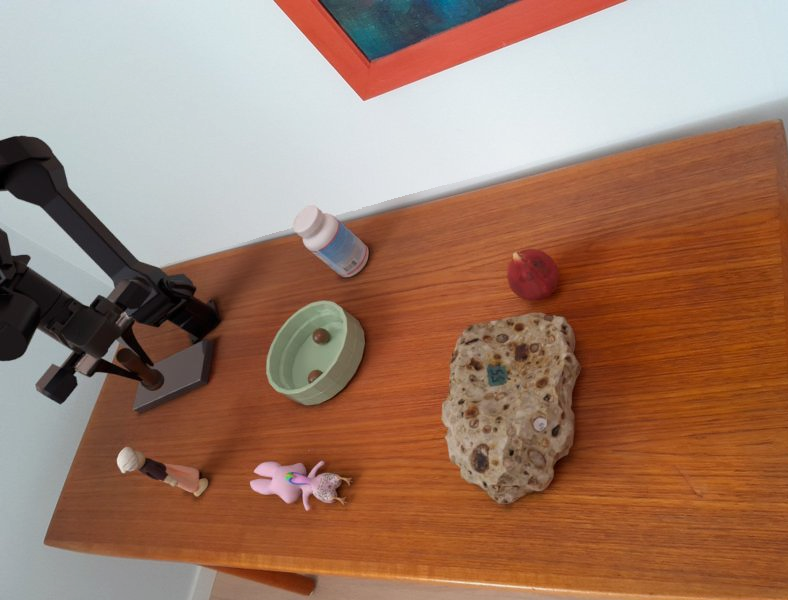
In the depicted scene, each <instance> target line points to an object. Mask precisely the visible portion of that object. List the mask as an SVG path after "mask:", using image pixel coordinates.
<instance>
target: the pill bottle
mask: <svg viewBox="0 0 788 600" xmlns="http://www.w3.org/2000/svg"><path fill="white" fill-rule="evenodd" d="M292 230H293V232H294V233H296V234H297V236H299V237H301V238H302V243H303V246H305V248H306V249H308V250H309V251H310V252H311V253H312V254H313V255H315V257H317V258H318V259H319V260H321V261H322V262H323V263H324V264H326V266H328V267H329V268H330V269H332V270H333V271H334V272H335V273H336V274H338V275H339V276H340V277H343V278H351V277H353V276H355V275H357V274H358V273H359V272H361V271H362V270H363V269H364V268H365V266H366V264H367V262H368V259H369V254H370V253H369V247H368V246H367V245H366V244H365V242H363V241H362V240H361V239H360V238H359V237H358V236H357V235H356V234H354V233H353V232H352V231H351V230H350V229H349V228H348V227H347V226H346V225H345V224H344V223H343V222H341V220H339V219H338V218H337V217H336V216H335V215H333V214H331V213H328V212H325V213H324V212H323V211H322V210H321V209H320V208H319V207H318V206H316V205H313V204H311V205H307V206H305V207H304V208H303V209H301V210H300V211H299V212H298V213H297V215H296V216H295V218H294V219H293V222H292Z"/></svg>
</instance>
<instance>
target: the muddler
mask: <svg viewBox="0 0 788 600" xmlns="http://www.w3.org/2000/svg"><path fill="white" fill-rule="evenodd" d="M115 359H116V361H117V362H118V363H119V364H120V365H122V366H123V367H124V369H126V370H128V371H130V372H132V373H134V374H136V375H137V376H139V377H140V378H142V379H143V381H142V382H140V383H141V385H142V386H143V387H144V388H145V389H147V390H149V391H156V390H158V389H160V388H161V387H162V386H163V384H164V376H163V374H162V373H161V372H160V371H159V370H157V369H151V368H150V367H149V365H148V364H146V363H145V362H144V361H143V360H142V359H140V358H139V357H138V356H137V355H136V354H135V353H134V352H133V351H132V350H131V349H129V348H125V347H123V348H121V349H119V350H118V351H117V352H116V354H115Z"/></svg>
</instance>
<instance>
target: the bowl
mask: <svg viewBox="0 0 788 600" xmlns="http://www.w3.org/2000/svg"><path fill="white" fill-rule="evenodd" d="M318 328H324V329H326V330H327V331H328V332H329V336H330V337H329V340H328V342H327V343H326V344H323V345H319V344H316V343H315V342H314V341H313V338H312V335H313V332H314V331H315V330H316V329H318ZM365 346H366V341H365V331H364V329H363V326H362V325H361V323H360V321H359V320H358V319H357V318H355V317H354V316H353V315H352V314H350V313H349V312H348V311H347V310H346V309H344V308H343V307H341V305H339V304H337V303H336V302H335V301H329V300H323V299H322V300H318V301H314V302H311V303H309V304H307V305H305V306H304V307H302V308H299V309H298V310H296V311H295V313H293V314H292V315H290V317H288V319H287V320H286V321H285V323H283V325H282V326H281V327H280V329H279V330H278V331H277V332H276V335H275V337H274V339H273V340H272V342H271V344H270V347H269V350H268V353H267V357H266V367H265V368H266V369H265V370H266V371H265V373H266V377H267V380H268V384H269V385H270V386H271V387H272V388H273V389H274V390H275V391H276V392H277V393H279V394H281V395H283V396H284V397H286V398H288V399H289V400H292V401H293V402H294V403H298V404H301V405H302V406H303V405H304V406H313V405H320V404H322V403H324V402H326V401H328V400H330V399H332V398H333V397H334V396H336V395H337V394H338V393H340V392H341V391H342V390H343V389H344V388H345V387H346V386H347V385H348V383H349V382H350V381H351V379H352V378H353V377H354V376H355V374H356V373H357V370H358V367H359V366H360V364H361V361H362V359H363V354H364V350H365ZM313 370H320V371H322V372H323V374H322V375H321V376H319V377H318V378H317V379H316V380H315V381H314V382H312V383H310V384H309V382H308V375H309V373H310V372H311V371H313Z"/></svg>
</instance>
